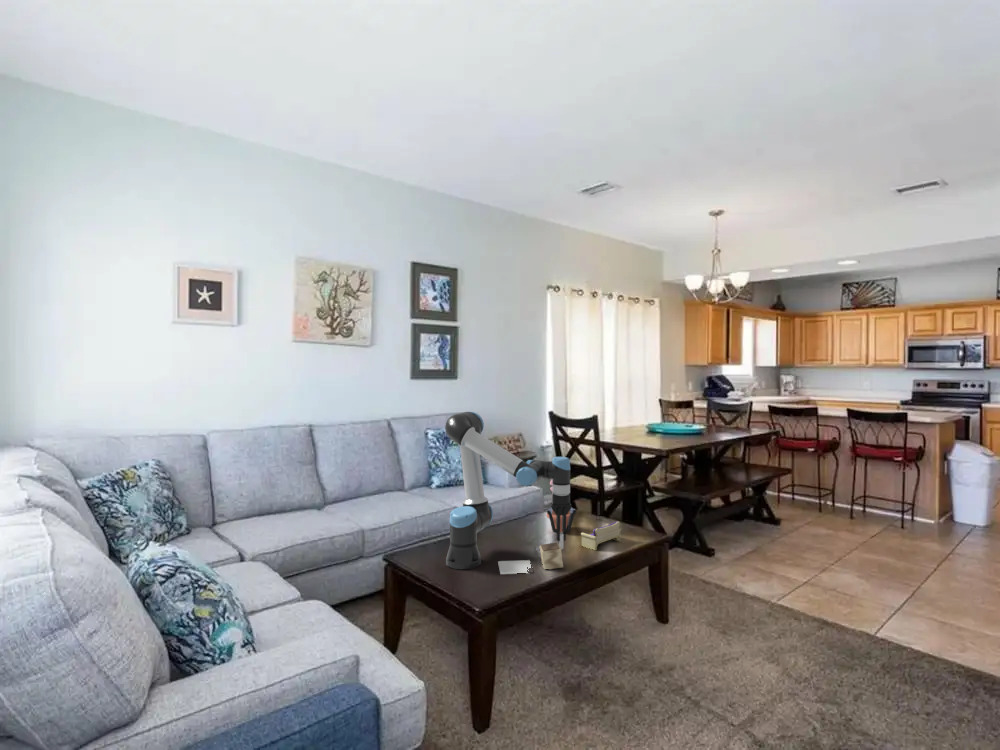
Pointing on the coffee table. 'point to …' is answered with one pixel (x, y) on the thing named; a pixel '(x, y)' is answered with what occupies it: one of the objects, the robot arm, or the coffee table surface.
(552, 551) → the maple cube
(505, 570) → the grey mat
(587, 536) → the toy sofa
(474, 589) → the coffee table surface
